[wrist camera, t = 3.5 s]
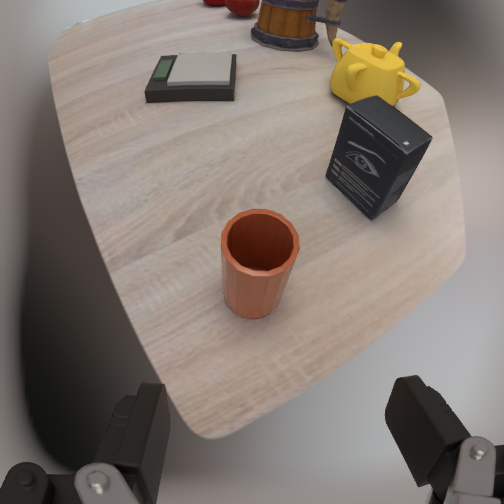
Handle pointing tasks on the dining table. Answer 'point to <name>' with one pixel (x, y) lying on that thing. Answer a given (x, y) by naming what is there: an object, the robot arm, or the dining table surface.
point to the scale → (193, 78)
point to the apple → (215, 2)
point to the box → (376, 154)
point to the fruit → (242, 6)
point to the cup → (257, 261)
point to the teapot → (370, 73)
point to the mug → (294, 24)
